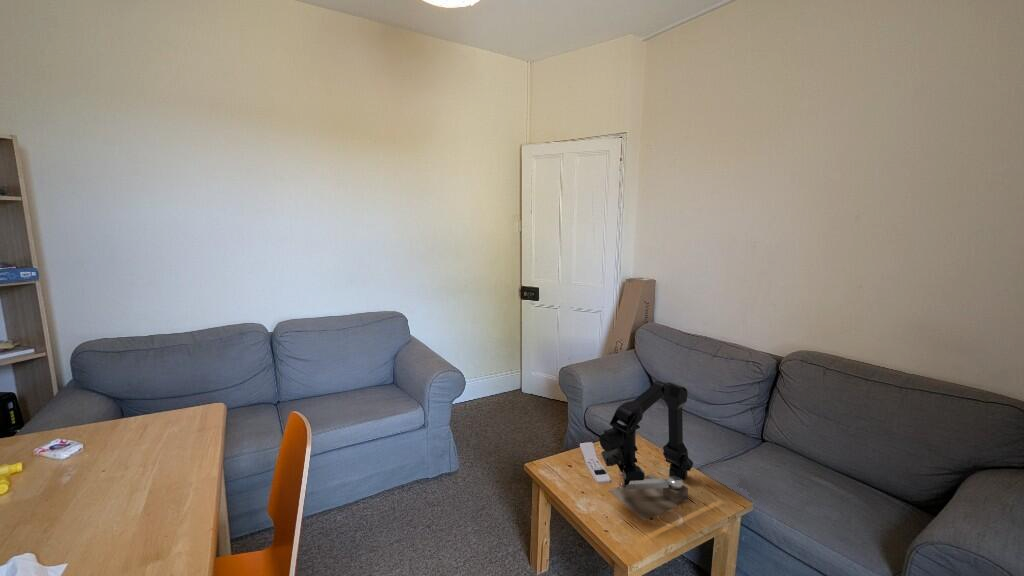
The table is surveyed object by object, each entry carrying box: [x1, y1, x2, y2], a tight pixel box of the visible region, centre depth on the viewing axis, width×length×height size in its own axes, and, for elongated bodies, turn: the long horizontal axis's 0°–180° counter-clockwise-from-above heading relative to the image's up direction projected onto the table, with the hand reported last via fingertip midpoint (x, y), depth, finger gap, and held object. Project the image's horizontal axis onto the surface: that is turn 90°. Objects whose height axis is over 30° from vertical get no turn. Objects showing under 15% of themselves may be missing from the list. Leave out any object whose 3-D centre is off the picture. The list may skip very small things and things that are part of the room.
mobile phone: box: [579, 441, 611, 484], centre depth 168 cm, size 6×6×25 cm
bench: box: [607, 473, 690, 522], centre depth 150 cm, size 22×18×6 cm
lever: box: [618, 470, 684, 490], centre depth 148 cm, size 23×5×6 cm, turn 92°
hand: (626, 484), depth 144 cm, fingers closed
